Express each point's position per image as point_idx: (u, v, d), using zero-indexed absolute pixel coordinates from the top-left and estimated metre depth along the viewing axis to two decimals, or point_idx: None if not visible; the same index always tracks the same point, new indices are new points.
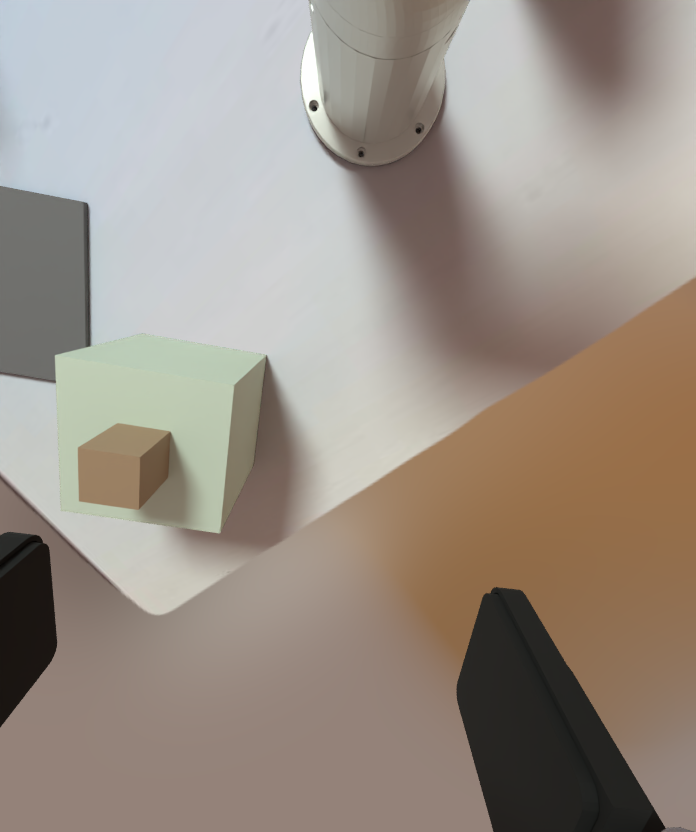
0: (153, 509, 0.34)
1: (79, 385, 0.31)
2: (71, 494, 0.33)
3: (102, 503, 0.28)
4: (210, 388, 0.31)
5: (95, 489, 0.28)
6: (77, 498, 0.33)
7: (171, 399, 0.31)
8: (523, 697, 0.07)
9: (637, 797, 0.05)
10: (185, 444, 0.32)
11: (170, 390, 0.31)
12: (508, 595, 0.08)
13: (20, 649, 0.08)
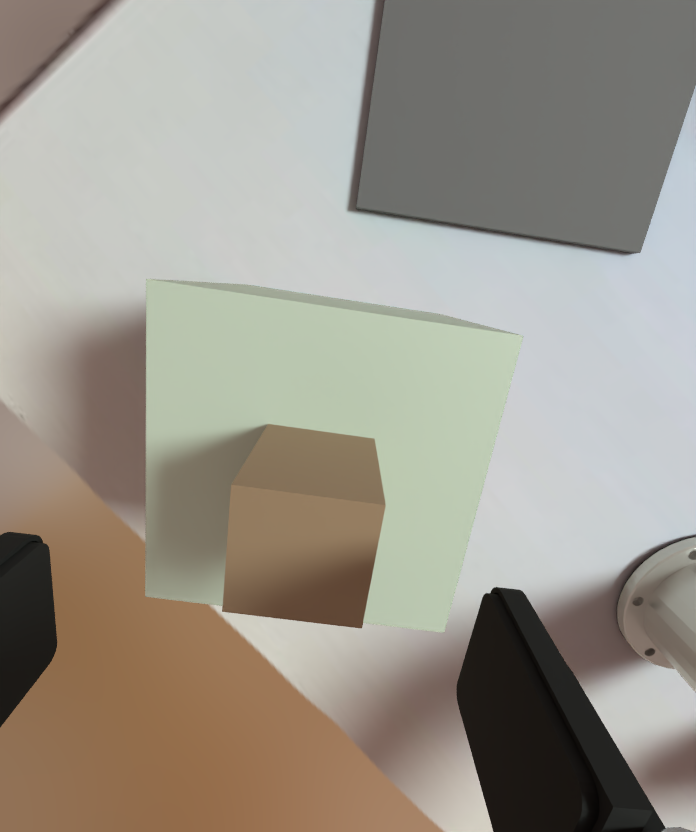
0: (180, 483, 0.16)
1: (456, 374, 0.15)
2: (195, 314, 0.14)
3: (231, 538, 0.11)
4: (439, 599, 0.18)
5: (270, 527, 0.11)
6: (186, 326, 0.14)
7: (420, 538, 0.17)
8: (523, 697, 0.07)
9: (637, 797, 0.05)
10: None
11: (438, 538, 0.17)
12: (508, 595, 0.08)
13: (20, 649, 0.08)
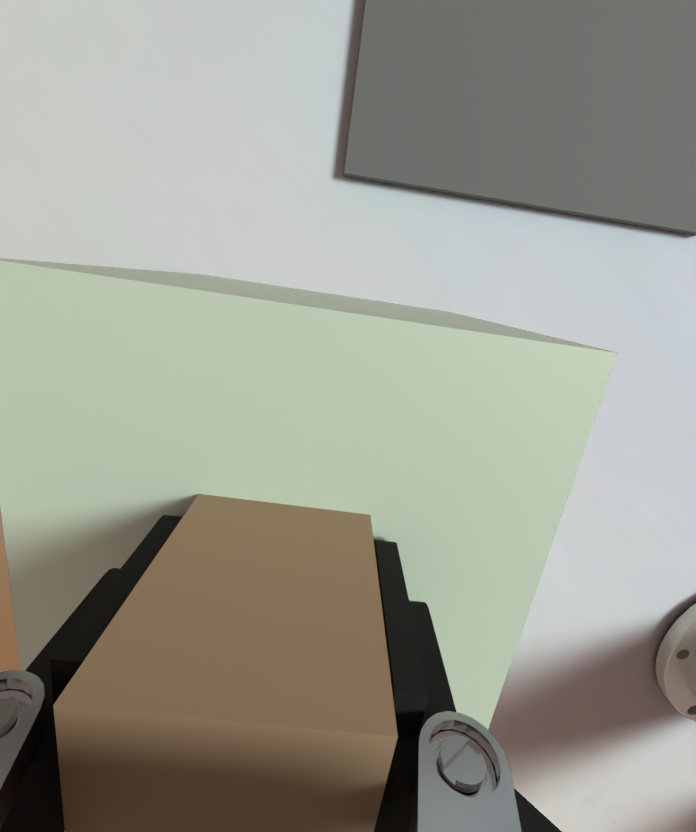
0: (64, 583, 0.10)
1: (503, 415, 0.09)
2: (63, 318, 0.08)
3: (70, 800, 0.05)
4: None
5: (151, 778, 0.05)
6: (49, 337, 0.08)
7: None
8: None
9: (419, 686, 0.06)
10: None
11: (467, 654, 0.11)
12: (381, 545, 0.09)
13: None
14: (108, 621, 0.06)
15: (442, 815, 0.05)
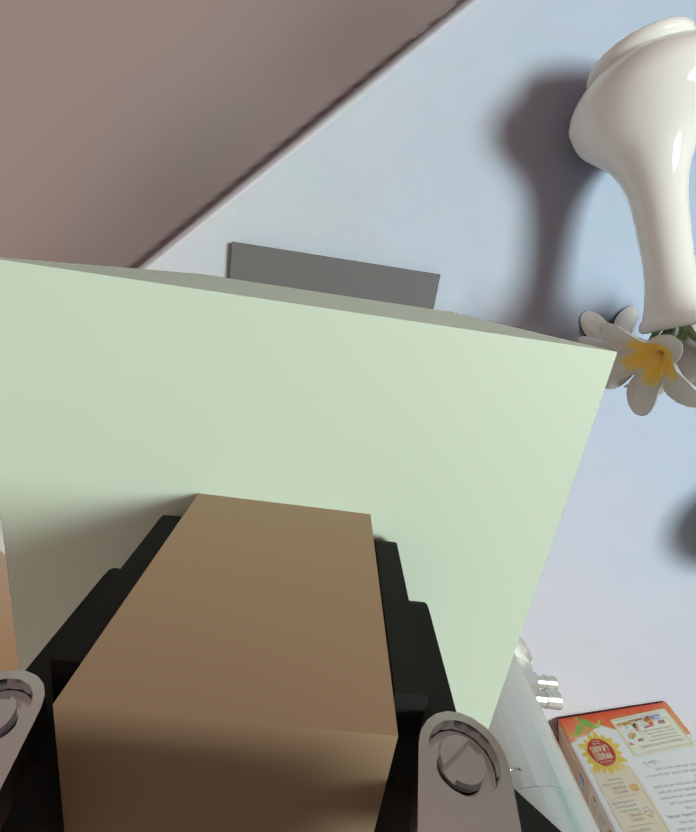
0: (64, 583, 0.10)
1: (503, 414, 0.09)
2: (62, 316, 0.08)
3: (70, 799, 0.05)
4: None
5: (151, 778, 0.05)
6: (48, 336, 0.08)
7: None
8: None
9: (419, 686, 0.06)
10: None
11: (467, 654, 0.11)
12: (381, 545, 0.09)
13: None
14: (108, 621, 0.06)
15: (442, 815, 0.05)
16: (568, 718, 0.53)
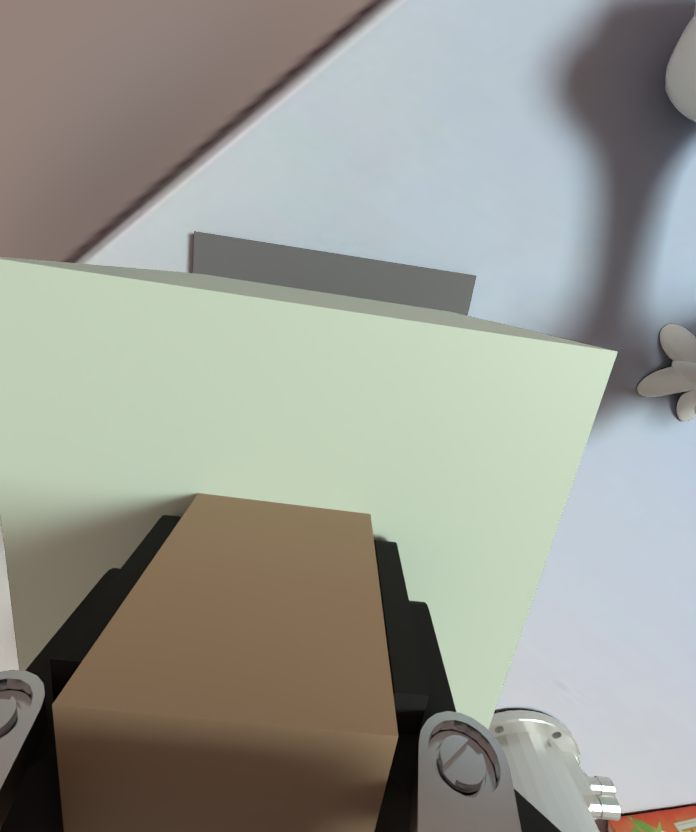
0: (64, 583, 0.10)
1: (504, 414, 0.09)
2: (62, 316, 0.08)
3: (69, 800, 0.05)
4: None
5: (150, 778, 0.05)
6: (48, 336, 0.08)
7: None
8: None
9: (419, 686, 0.06)
10: None
11: (467, 654, 0.11)
12: (381, 545, 0.09)
13: None
14: (108, 621, 0.06)
15: (442, 815, 0.05)
16: (620, 818, 0.43)
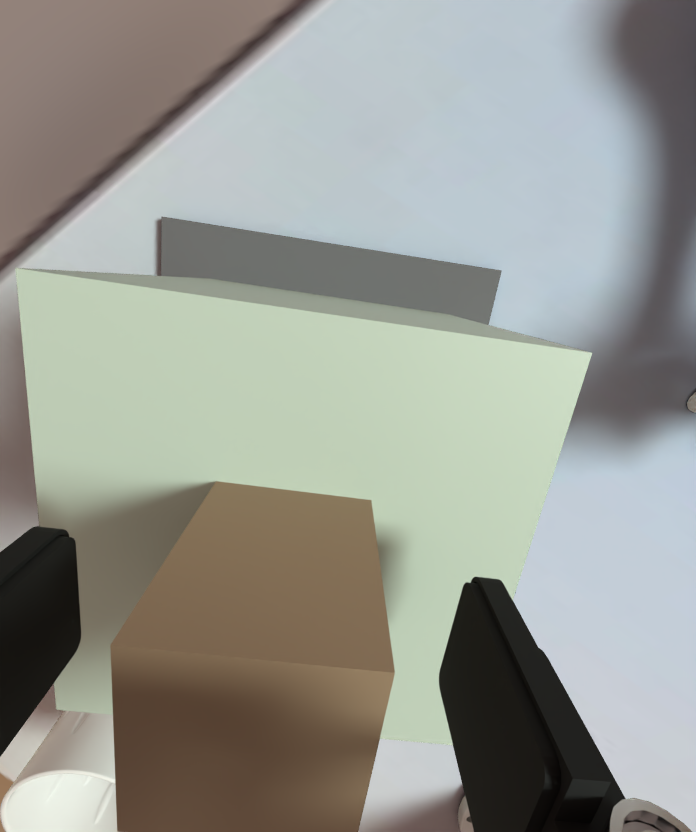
0: (93, 563, 0.11)
1: (491, 409, 0.10)
2: (96, 322, 0.09)
3: (120, 729, 0.06)
4: None
5: (189, 710, 0.06)
6: (83, 340, 0.09)
7: (435, 631, 0.12)
8: (496, 680, 0.07)
9: (596, 769, 0.05)
10: None
11: None
12: (486, 584, 0.09)
13: (49, 639, 0.08)
14: None
15: None
16: None
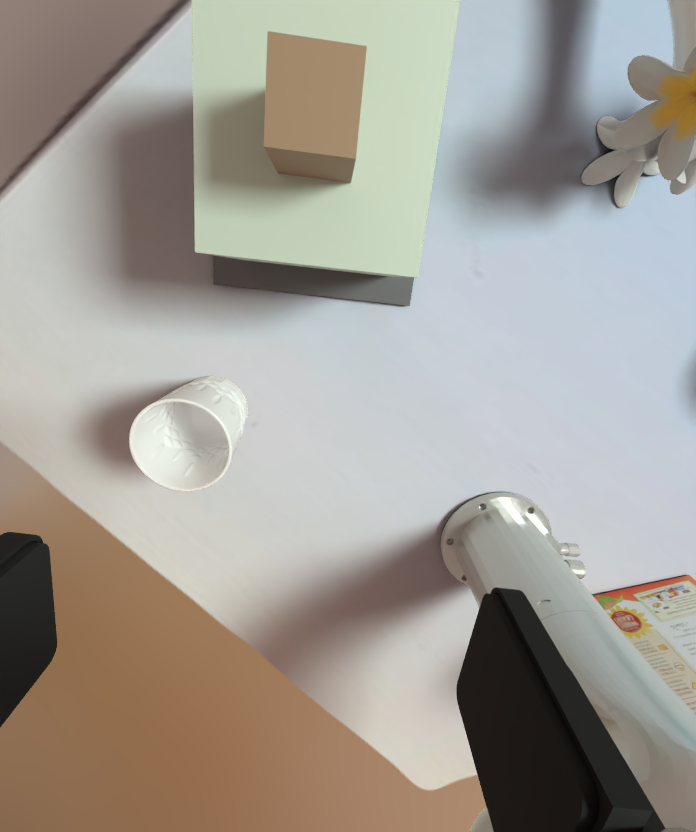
0: (219, 143, 0.22)
1: (414, 36, 0.21)
2: None
3: (268, 78, 0.17)
4: (413, 245, 0.24)
5: (293, 68, 0.17)
6: None
7: (396, 188, 0.23)
8: (523, 697, 0.07)
9: (637, 797, 0.05)
10: (332, 205, 0.23)
11: (409, 187, 0.23)
12: (508, 595, 0.08)
13: (20, 649, 0.08)
14: None
15: None
16: None
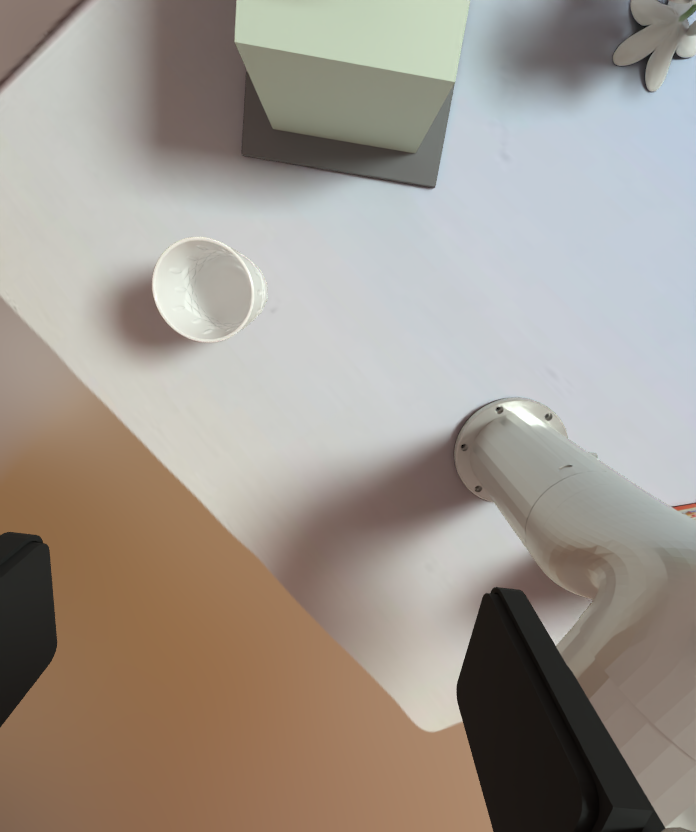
0: None
1: None
2: None
3: None
4: (452, 45, 0.24)
5: None
6: None
7: None
8: (523, 697, 0.07)
9: (637, 797, 0.05)
10: None
11: None
12: (508, 595, 0.08)
13: (20, 649, 0.08)
14: None
15: None
16: None
